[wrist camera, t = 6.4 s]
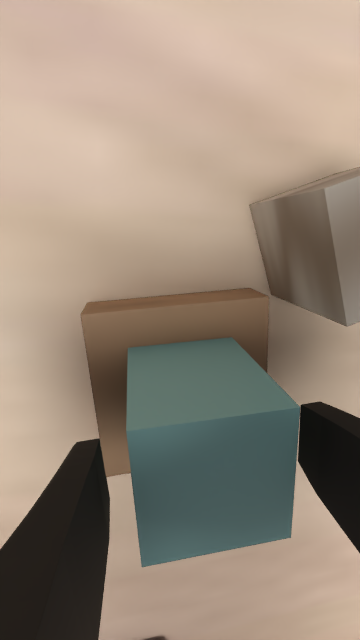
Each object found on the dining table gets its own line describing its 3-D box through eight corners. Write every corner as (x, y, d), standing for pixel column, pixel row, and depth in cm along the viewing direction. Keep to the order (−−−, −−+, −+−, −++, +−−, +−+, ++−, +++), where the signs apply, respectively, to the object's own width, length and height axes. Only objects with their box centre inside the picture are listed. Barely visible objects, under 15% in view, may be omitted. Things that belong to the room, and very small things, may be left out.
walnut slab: (244, 418, 16) (264, 449, 14) (108, 439, 15) (105, 476, 13) (245, 286, 14) (268, 296, 12) (88, 300, 13) (80, 314, 11)
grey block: (349, 263, 14) (463, 279, 9) (270, 294, 14) (346, 326, 9) (336, 173, 13) (460, 139, 8) (248, 204, 13) (324, 188, 8)
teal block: (232, 425, 13) (290, 537, 8) (137, 439, 12) (141, 567, 8) (231, 337, 12) (300, 407, 7) (127, 347, 11) (125, 431, 7)
